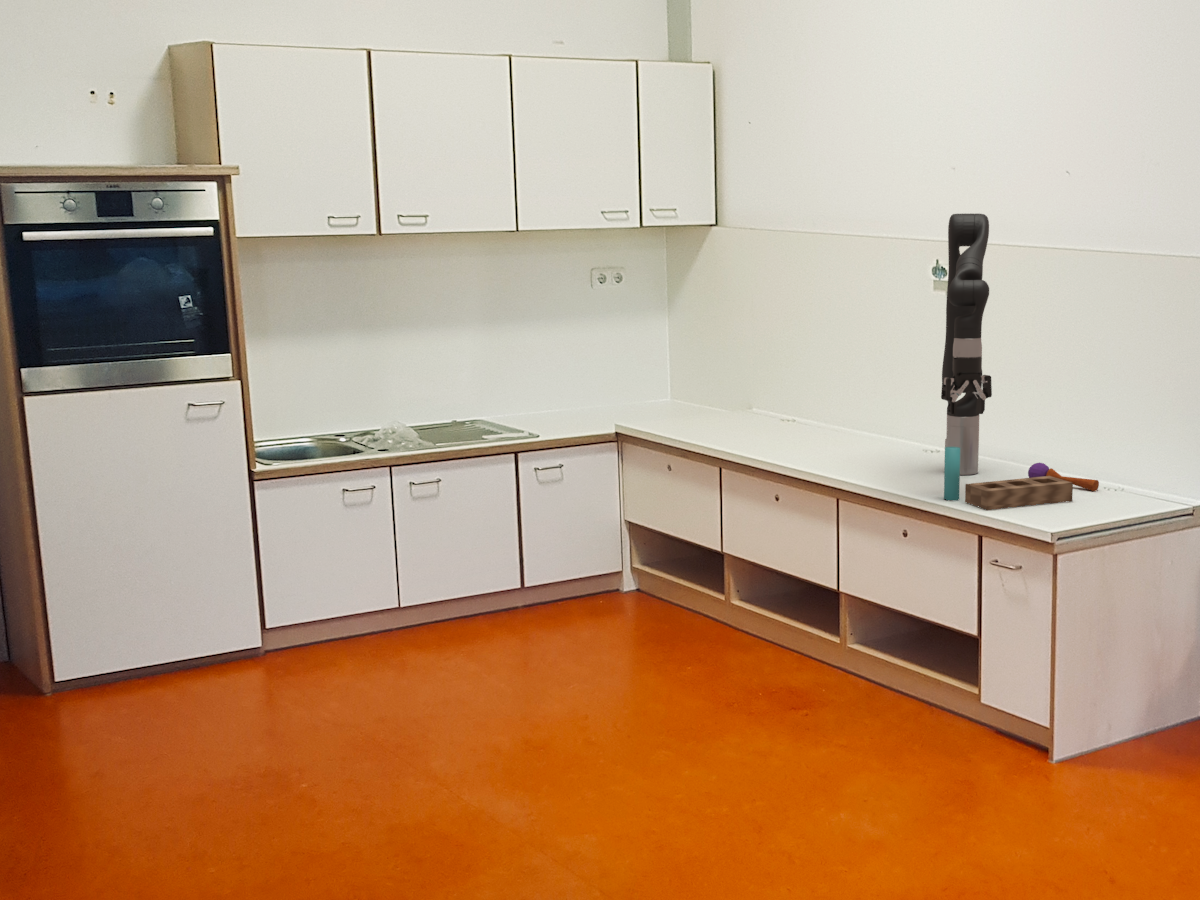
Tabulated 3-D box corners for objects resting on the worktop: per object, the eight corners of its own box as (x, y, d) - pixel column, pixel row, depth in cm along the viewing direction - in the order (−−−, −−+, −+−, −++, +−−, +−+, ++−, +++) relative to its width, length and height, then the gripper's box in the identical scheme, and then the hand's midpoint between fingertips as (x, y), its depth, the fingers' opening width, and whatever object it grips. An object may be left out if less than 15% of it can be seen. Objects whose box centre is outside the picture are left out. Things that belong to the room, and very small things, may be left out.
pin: (941, 498, 361) (942, 447, 359) (954, 497, 362) (955, 446, 360) (949, 501, 357) (950, 449, 355) (962, 499, 358) (963, 448, 356)
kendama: (1090, 479, 362) (1024, 464, 376) (1090, 499, 364) (1024, 484, 378) (1101, 472, 365) (1035, 458, 380) (1101, 492, 367) (1035, 477, 382)
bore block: (986, 510, 346) (986, 491, 345) (965, 502, 355) (965, 484, 354) (1072, 501, 353) (1072, 482, 352) (1049, 493, 363) (1049, 475, 362)
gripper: (981, 352, 364) (980, 411, 367) (936, 355, 360) (935, 414, 362) (998, 354, 357) (996, 414, 360) (952, 357, 353) (951, 418, 355)
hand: (966, 414), depth 361 cm, fingers open, 8 cm apart
